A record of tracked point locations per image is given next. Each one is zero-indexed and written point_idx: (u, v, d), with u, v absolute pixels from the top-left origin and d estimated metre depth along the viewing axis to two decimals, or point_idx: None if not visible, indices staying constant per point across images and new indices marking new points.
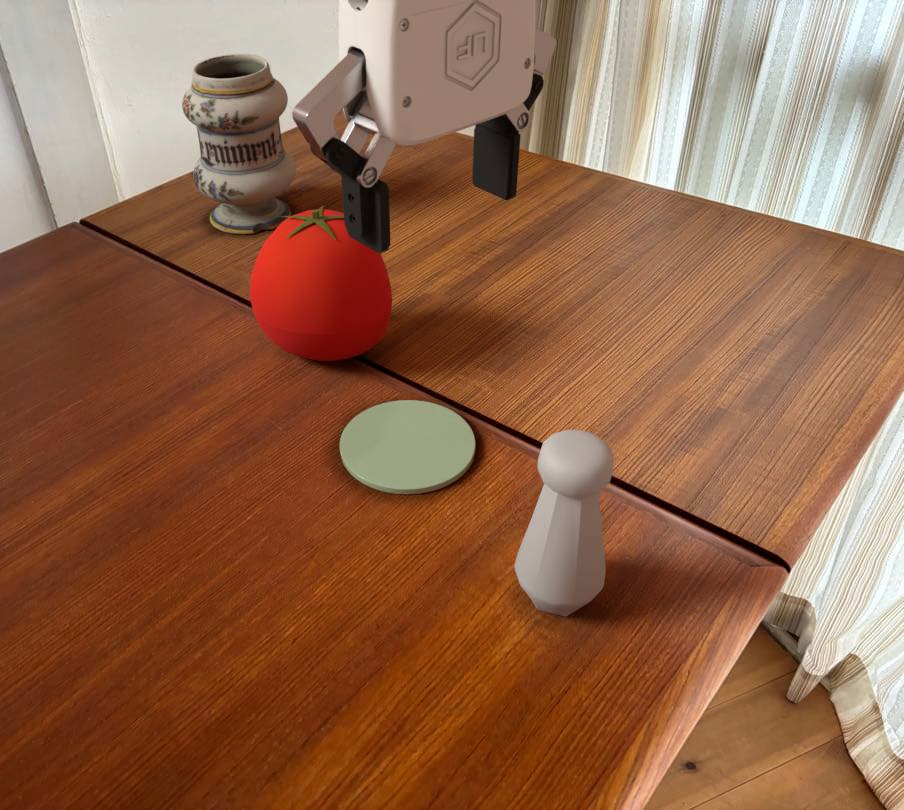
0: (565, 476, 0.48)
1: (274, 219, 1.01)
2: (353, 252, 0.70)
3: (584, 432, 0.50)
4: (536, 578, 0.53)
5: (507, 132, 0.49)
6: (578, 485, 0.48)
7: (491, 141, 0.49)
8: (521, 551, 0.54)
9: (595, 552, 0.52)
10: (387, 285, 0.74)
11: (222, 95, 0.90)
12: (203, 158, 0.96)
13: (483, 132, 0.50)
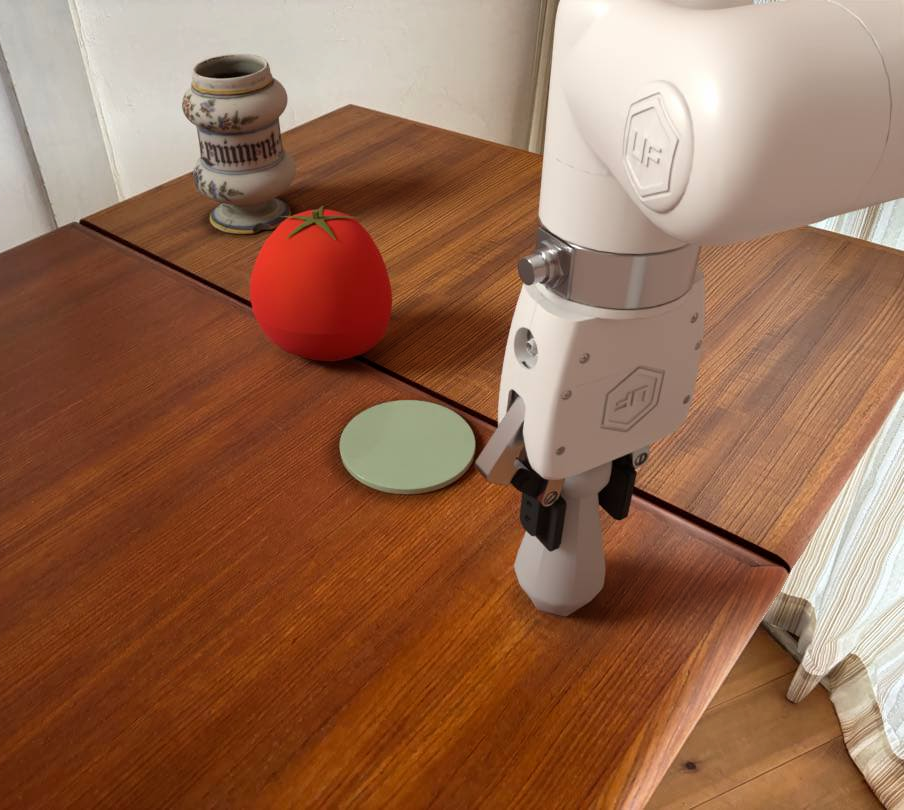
0: None
1: (274, 219, 1.01)
2: (353, 252, 0.70)
3: None
4: (536, 579, 0.53)
5: (624, 466, 0.49)
6: (576, 485, 0.48)
7: None
8: (521, 551, 0.54)
9: (594, 552, 0.52)
10: (387, 285, 0.74)
11: (222, 95, 0.90)
12: (203, 158, 0.96)
13: None
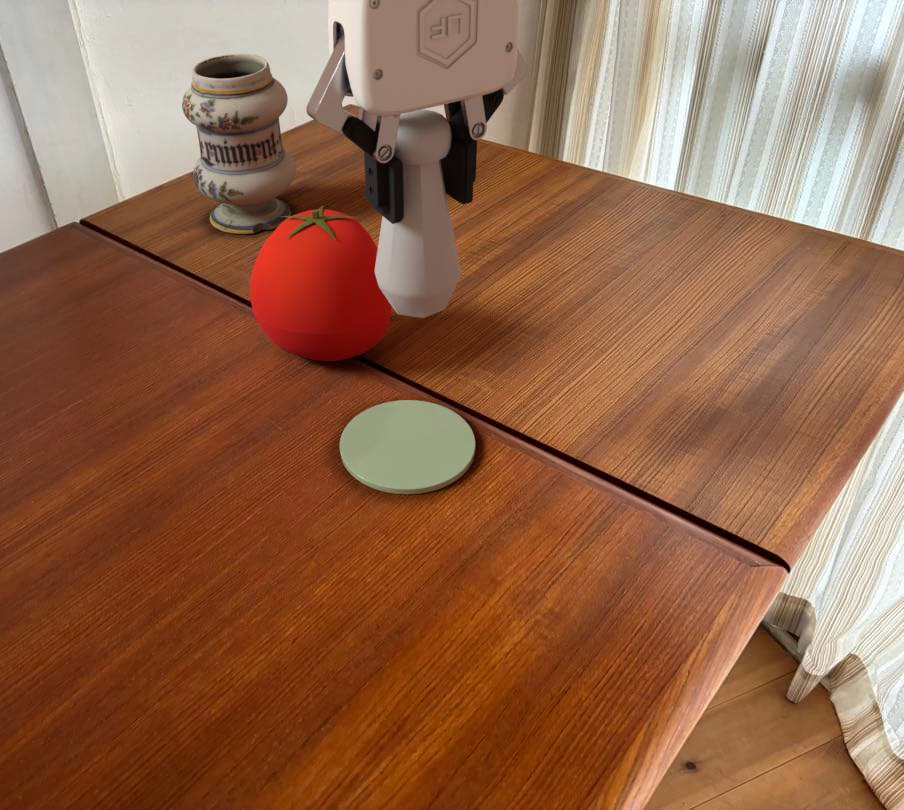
0: (400, 139, 0.50)
1: (274, 219, 1.01)
2: (353, 252, 0.70)
3: None
4: (389, 270, 0.55)
5: (463, 140, 0.51)
6: (412, 147, 0.50)
7: (450, 147, 0.52)
8: (378, 251, 0.56)
9: (442, 237, 0.54)
10: None
11: (222, 95, 0.90)
12: (203, 158, 0.96)
13: None
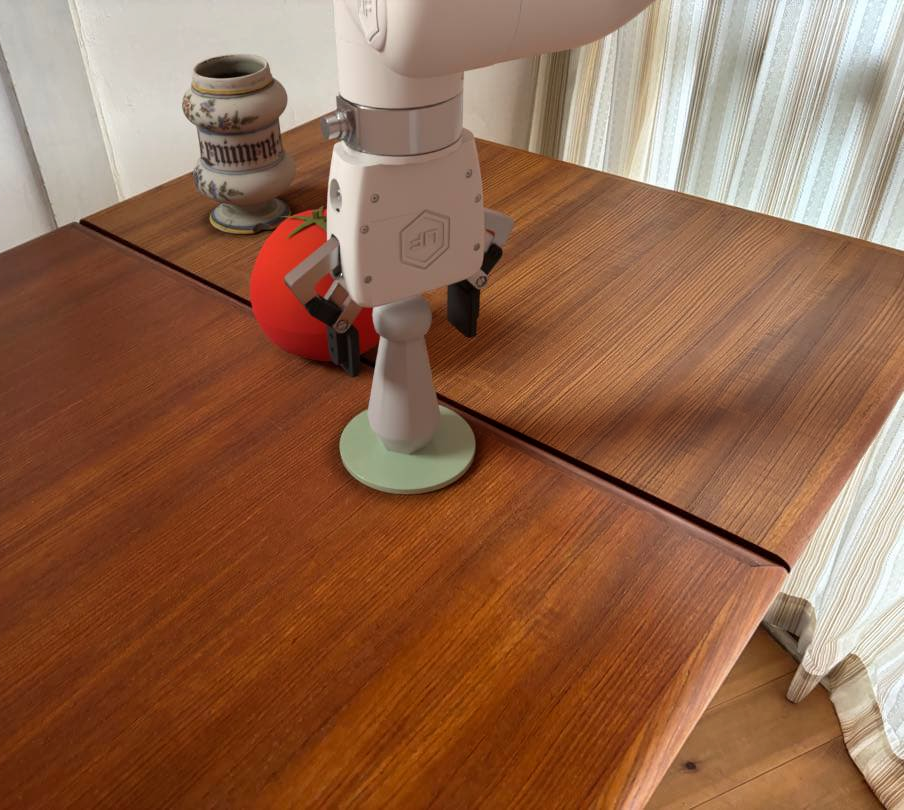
0: (389, 322, 0.60)
1: (274, 219, 1.01)
2: None
3: None
4: (379, 418, 0.65)
5: (469, 288, 0.61)
6: (399, 329, 0.60)
7: (458, 293, 0.62)
8: (370, 399, 0.66)
9: (424, 394, 0.64)
10: None
11: (222, 95, 0.90)
12: (203, 158, 0.96)
13: (453, 284, 0.62)
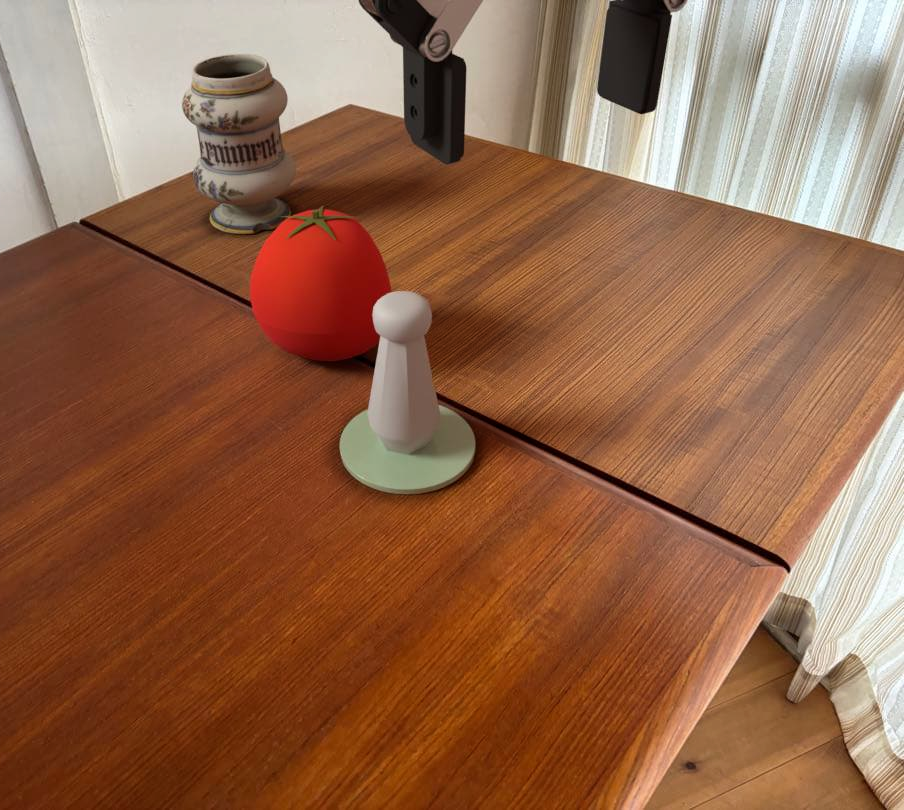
0: (389, 322, 0.60)
1: (274, 219, 1.01)
2: (353, 252, 0.70)
3: (410, 292, 0.62)
4: (379, 418, 0.65)
5: (653, 12, 0.34)
6: (399, 329, 0.60)
7: (628, 27, 0.35)
8: (370, 399, 0.66)
9: (424, 394, 0.64)
10: (387, 285, 0.74)
11: (222, 95, 0.90)
12: (203, 158, 0.96)
13: (619, 14, 0.35)
